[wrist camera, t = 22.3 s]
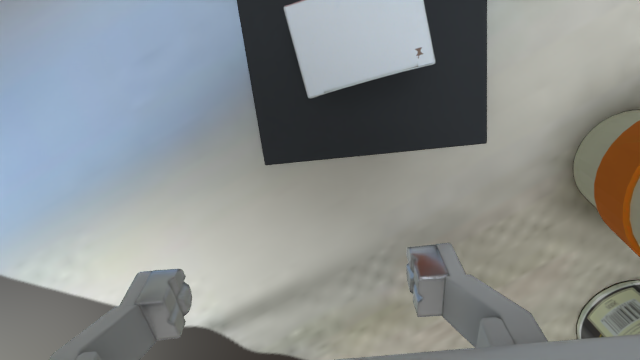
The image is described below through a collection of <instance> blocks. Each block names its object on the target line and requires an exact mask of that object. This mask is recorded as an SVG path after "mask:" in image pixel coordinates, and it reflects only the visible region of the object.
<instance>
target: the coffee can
mask: <svg viewBox="0 0 640 360" xmlns="http://www.w3.org/2000/svg"><path fill="white" fill-rule="evenodd" d="M636 334H640V280H637V281H628V282H624V283H620V284H617V285H614V286H612V287H610V288H608V289H606V290H604V291H602V292H601V293H599V294H598V295H596V296H595V297H594V298H593V299H592V300H591V301H590V302H589V303H588V304H587V305H586V307H585V308H584V309H583V310H582V312H581V315H580V317H579V320H578V324H577V337H578V339H588V338H600V337H612V336H624V335H636Z"/></svg>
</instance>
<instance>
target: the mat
mask: <svg viewBox="0 0 640 360" xmlns="http://www.w3.org/2000/svg"><path fill="white" fill-rule="evenodd" d="M298 1H301V0H237V4H238V10H239V16H240V22H241V27H242V33H243V39H244V45H245V51H246V56H247V62H248V68H249V74H250V80H251V85H252V91H253V97H254V103H255V109H256V115H257V120H258V126H259V132H260V138H261V144H262V149H263V155H264V161H265V165H272V164H283V163H293V162H303V161H313V160H323V159H333V158H343V157H353V156H363V155H373V154H383V153H393V152H403V151H414V150H424V149H434V148H444V147H454V146H464V145H474V144H484V143H487V0H424V5H425V10H426V15H427V21H428V26H429V31H430V36H431V41H432V46H433V51H434V56H435V64H433V65H428V66H424V67H420V68H416V69H411V70H407V71H403V72H399V73H396V74H392V75H388V76H385V77H381V78H378V79H374V80H371V81H367V82H363V83H360V84H356V85H353V86H349V87H346V88H342V89H339V90H336V91H332V92H329V93H326V94H323V95H320V96H317V97H314V98H311V99H310V98H308V96H307V92H306V89H305V85H304V82H303V78H302V74H301V71H300V67H299V63H298V60H297V56H296V52H295V49H294V45H293V41H292V38H291V34H290V30H289V27H288V23H287V19H286V16H285V12H284V6H286V5H290V4H292V3H295V2H298Z"/></svg>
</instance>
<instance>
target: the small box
mask: <svg viewBox="0 0 640 360" xmlns="http://www.w3.org/2000/svg"><path fill="white" fill-rule="evenodd" d="M284 12H285V16H286V19H287V23H288V27H289V30H290V34H291V38H292V41H293V45H294V49H295V52H296V56H297V60H298V63H299V67H300V71H301V74H302V78H303V82H304V85H305V89H306V92H307V96H308V98H310V99H311V98H314V97H317V96H320V95H323V94H326V93H329V92H332V91H336V90H339V89H342V88H346V87H349V86H353V85H356V84H360V83H363V82H367V81H371V80H374V79H378V78H381V77H385V76H388V75H392V74H396V73H399V72H403V71H407V70H411V69H416V68H420V67H424V66H428V65H433V64H435V56H434V51H433V46H432V41H431V36H430V31H429V26H428V21H427V15H426V10H425V5H424V0H301V1H298V2H295V3H292V4H290V5H286V6H284Z"/></svg>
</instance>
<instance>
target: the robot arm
mask: <svg viewBox="0 0 640 360" xmlns="http://www.w3.org/2000/svg"><path fill="white" fill-rule="evenodd" d="M407 259H408V262H409V263H408V264H407V265H406V269H407V281H408V286H409V289H410V292H411V293H413V303H414V306H415V310H416V313H417V316H418V317H426V316H443V318H444V319H446V320H447V321H448V322H449V323H450V324H451V325H452V326H453V327H454V328H455V329H456V330H457V331H458V332H459V333H460V334H461V335H462V336H463V337H465V338H466V339H467V340H468V341H469V342H470V343H471V344H472V345H473V346H474V347H475V348H468V349H456V350H444V351H432V352H420V353H408V354H397V355H385V356H373V357H361V358H348V359H336V360H640V334H636V335H624V336H612V337H600V338H588V339H576V340H564V341H552V342H548V341H547V339H546V337H545V336H544V334H543V332H542V331H541V329H540V327H539V326H538V324H537V322H536V321H535V319H534V318H533V316H532V314H531V313H530V312H528V311H527V310H525V309H524V308H522V307H521V306H519V305H517V304H516V303H514V302H513V301H511V300H510V299H508V298H507V297H505V296H503V295H502V294H500V293H499V292H497V291H496V290H494V289H492V288H491V287H489V286H488V285H486V284H485V283H483V282H482V281H480V280H478V279H477V278H475V277H474V276H472V275H466V273H465V271H464V269H463V267H462V265H461V263H460V261H459V258H458V256H457V254H456V252H455V250H454V248H453V246H452V244H451V243H442V244H435V245H425V246H415V247H407ZM185 277H186V276H185V274H184V272H183V270H182V269H169V270H155V271H144V272H139V273H138V274H137V275H136V276H135V278H134V280H133V282H132V284H131V286H130V287H129V289H128V291H127V293H126V295H125V296H124V298H123V300H122V302H121V304H120V306H118V307H114V308H113V309H111V310H110V311H109V312H107V313H106V314H105V315H104V316H102V317H101V318H99V319H98V320H97V321H96V322H94V323H93V324H92V325H90V326H89V327H88V328H86V329H85V330H84V331H82V332H81V333H80V334H78V335H77V336H76V337H74V338H73V339H72V340H70V341H69V342H68V343H66V344H65V345H64V346H63V347H61V348H60V349H58V350H57V351H56V352H54V353H53V354H52V356H51V357H50V359H49V360H140V359H141V358H142V357H143V356H144V355H145V354H146V353H147V351H148V350H149V349H150V348H151V347H152V346H153V345H154V344H155V343H156V340H164V339H173V338H180V336H181V333H182V331H183V328H184V325H185V319H184V316H185V315H186V314H187V313H188V312H189V310H190V307H191V301H192V294H191V289H190V287H189V285H188V284H186V283H185V282H184V279H185Z"/></svg>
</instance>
